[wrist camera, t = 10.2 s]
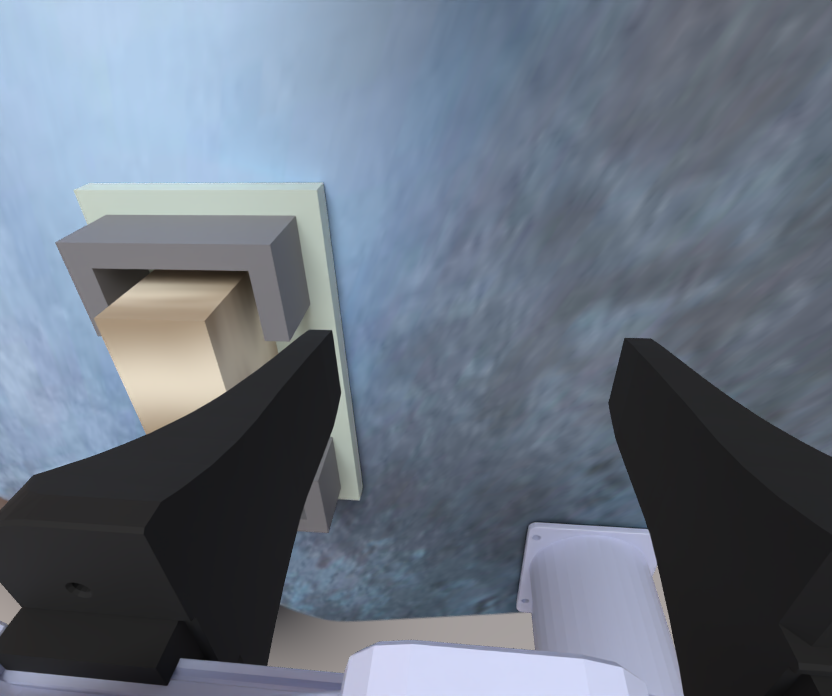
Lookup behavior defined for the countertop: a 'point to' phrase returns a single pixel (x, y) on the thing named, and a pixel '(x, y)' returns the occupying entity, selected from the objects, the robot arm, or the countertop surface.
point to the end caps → (233, 251)
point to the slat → (184, 340)
